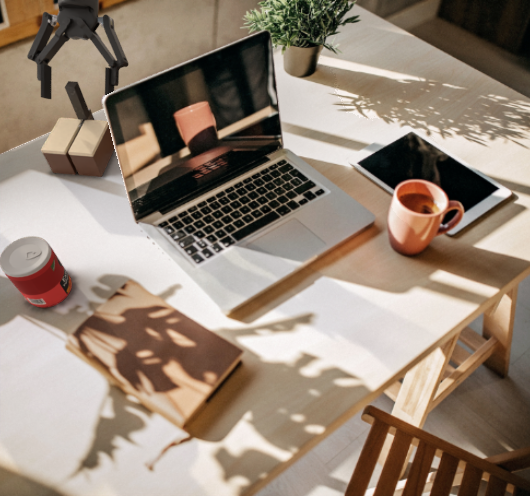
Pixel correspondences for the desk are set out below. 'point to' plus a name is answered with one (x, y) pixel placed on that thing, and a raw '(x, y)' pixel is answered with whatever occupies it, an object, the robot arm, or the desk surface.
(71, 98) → the slicer
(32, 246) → the canned food
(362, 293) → the desk surface
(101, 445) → the desk surface
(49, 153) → the cake
